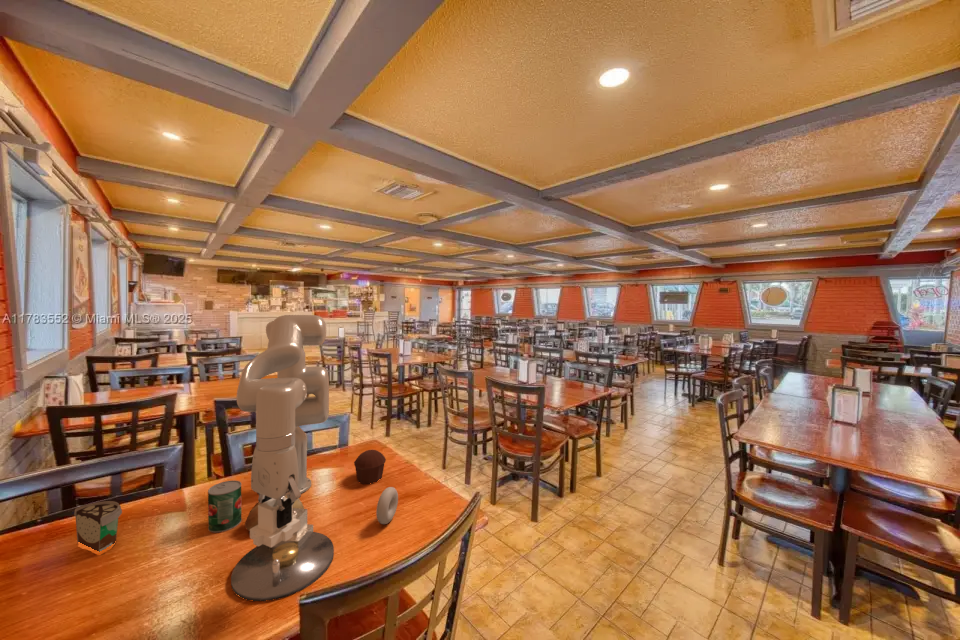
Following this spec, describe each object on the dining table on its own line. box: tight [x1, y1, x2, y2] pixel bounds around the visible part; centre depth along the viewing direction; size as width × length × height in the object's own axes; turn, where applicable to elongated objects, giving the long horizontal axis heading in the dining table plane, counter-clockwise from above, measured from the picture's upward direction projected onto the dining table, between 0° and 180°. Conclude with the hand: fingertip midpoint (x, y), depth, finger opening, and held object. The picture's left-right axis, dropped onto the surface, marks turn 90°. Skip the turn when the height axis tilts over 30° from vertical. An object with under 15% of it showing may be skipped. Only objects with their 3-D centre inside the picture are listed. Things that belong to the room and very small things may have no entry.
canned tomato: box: [207, 480, 243, 534], centre depth 102 cm, size 8×8×11 cm
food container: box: [73, 500, 123, 552], centre depth 93 cm, size 12×6×10 cm, turn 71°
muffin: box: [353, 449, 387, 485], centre depth 131 cm, size 12×11×10 cm
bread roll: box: [244, 496, 305, 531], centre depth 103 cm, size 10×15×8 cm, turn 127°
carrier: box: [230, 508, 335, 602], centre depth 87 cm, size 22×22×9 cm
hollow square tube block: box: [249, 497, 300, 547], centre depth 78 cm, size 9×9×7 cm
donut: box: [375, 486, 399, 525], centre depth 105 cm, size 10×4×10 cm, turn 168°
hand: (275, 520), depth 78 cm, fingers closed on hollow square tube block, 4 cm apart
